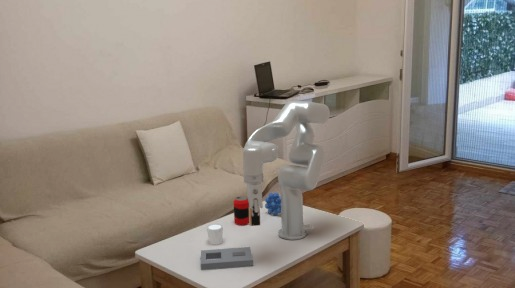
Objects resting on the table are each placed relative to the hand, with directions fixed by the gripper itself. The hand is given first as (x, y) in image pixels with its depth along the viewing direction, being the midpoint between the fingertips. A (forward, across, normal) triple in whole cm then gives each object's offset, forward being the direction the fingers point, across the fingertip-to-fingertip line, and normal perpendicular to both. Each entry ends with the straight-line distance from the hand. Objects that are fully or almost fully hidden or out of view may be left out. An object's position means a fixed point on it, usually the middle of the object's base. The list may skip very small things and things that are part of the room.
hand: (255, 222), depth 195 cm
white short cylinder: (+16, +20, +15) cm, 29 cm away
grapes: (+15, +46, -15) cm, 51 cm away
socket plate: (+16, +1, +12) cm, 20 cm away
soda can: (+15, +39, +2) cm, 42 cm away
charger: (+1, 0, 0) cm, 1 cm away
